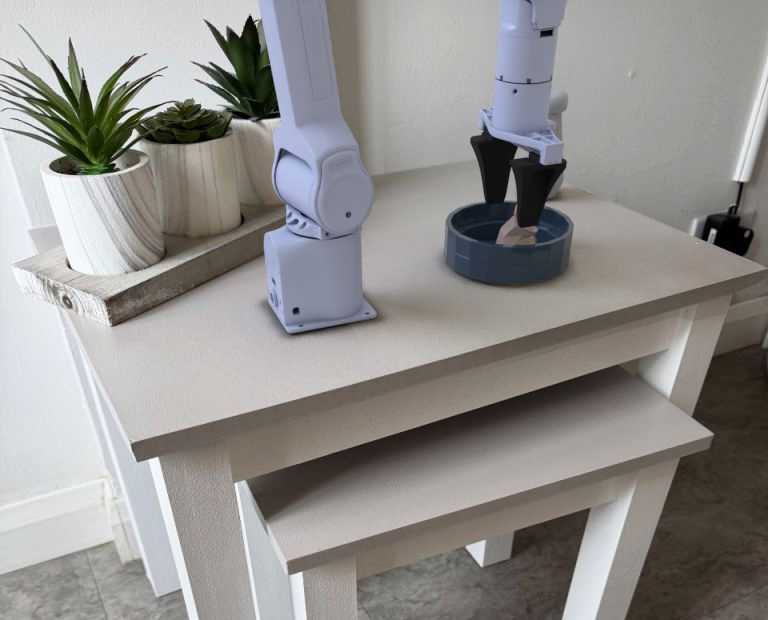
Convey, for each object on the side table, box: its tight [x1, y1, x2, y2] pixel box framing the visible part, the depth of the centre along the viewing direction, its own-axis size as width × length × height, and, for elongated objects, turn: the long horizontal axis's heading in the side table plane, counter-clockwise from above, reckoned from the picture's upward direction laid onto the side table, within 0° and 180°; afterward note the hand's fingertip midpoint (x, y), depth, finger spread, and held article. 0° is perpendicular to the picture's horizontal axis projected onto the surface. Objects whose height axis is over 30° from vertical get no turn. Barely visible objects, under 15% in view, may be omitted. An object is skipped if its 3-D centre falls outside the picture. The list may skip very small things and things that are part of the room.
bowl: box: [443, 199, 575, 285], centre depth 90 cm, size 14×14×4 cm
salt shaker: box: [525, 87, 569, 200], centre depth 104 cm, size 6×6×13 cm
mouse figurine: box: [496, 205, 538, 245], centre depth 89 cm, size 5×8×7 cm, turn 43°
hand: (510, 214), depth 88 cm, fingers open, 7 cm apart
